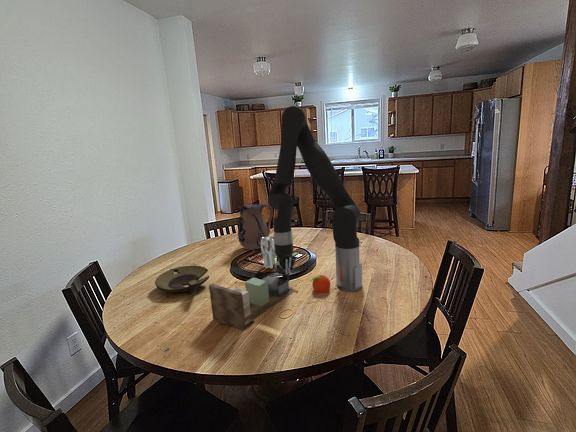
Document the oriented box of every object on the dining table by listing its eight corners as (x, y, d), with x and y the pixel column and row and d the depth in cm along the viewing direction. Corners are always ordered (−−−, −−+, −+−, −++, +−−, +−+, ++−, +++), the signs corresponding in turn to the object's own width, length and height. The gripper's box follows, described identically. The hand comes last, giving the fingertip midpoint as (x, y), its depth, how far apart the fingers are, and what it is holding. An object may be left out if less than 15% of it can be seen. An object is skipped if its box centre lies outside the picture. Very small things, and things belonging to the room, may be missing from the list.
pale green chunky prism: (269, 301, 117) (267, 281, 115) (261, 306, 113) (259, 285, 112) (255, 297, 121) (253, 277, 119) (246, 302, 117) (244, 282, 116)
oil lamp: (209, 272, 152) (207, 257, 151) (211, 299, 124) (208, 281, 122) (160, 279, 147) (158, 264, 146) (150, 310, 119) (146, 291, 117)
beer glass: (270, 272, 147) (268, 241, 143) (259, 269, 151) (256, 239, 148) (280, 267, 152) (277, 237, 149) (269, 264, 156) (266, 235, 153)
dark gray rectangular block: (289, 291, 124) (288, 280, 123) (279, 297, 119) (278, 286, 118) (269, 285, 130) (268, 275, 129) (259, 291, 125) (258, 281, 124)
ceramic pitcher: (235, 246, 189) (231, 205, 183) (268, 240, 197) (265, 200, 192) (244, 255, 173) (240, 210, 168) (279, 247, 182) (276, 204, 176)
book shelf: (296, 293, 124) (294, 262, 122) (242, 330, 101) (238, 294, 98) (269, 285, 133) (266, 257, 130) (213, 319, 109) (208, 285, 107)
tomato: (313, 298, 119) (312, 280, 118) (307, 290, 126) (306, 274, 124) (333, 294, 121) (332, 277, 120) (326, 287, 128) (325, 270, 126)
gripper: (280, 247, 119) (283, 290, 123) (300, 238, 130) (302, 277, 133) (265, 245, 124) (269, 286, 128) (285, 236, 134) (288, 274, 138)
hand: (286, 281), depth 131 cm, fingers closed
